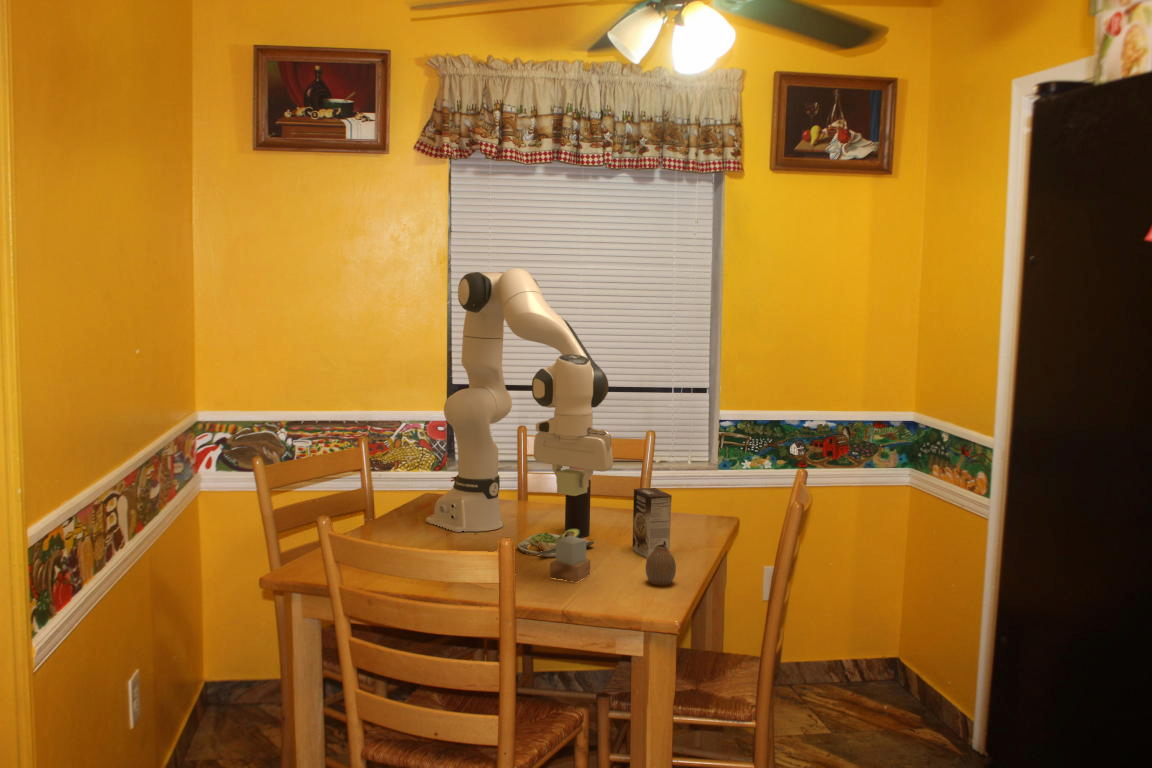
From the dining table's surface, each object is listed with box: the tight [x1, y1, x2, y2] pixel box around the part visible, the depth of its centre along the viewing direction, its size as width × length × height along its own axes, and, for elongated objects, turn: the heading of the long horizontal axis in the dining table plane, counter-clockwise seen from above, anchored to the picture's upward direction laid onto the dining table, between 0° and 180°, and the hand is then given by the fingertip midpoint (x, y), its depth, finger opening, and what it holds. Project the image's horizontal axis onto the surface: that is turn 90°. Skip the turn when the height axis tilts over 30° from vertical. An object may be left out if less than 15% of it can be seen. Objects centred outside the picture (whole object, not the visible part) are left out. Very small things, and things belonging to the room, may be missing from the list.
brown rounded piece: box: [645, 544, 677, 587], centre depth 212 cm, size 7×7×9 cm
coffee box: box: [631, 487, 673, 560], centre depth 235 cm, size 9×6×16 cm
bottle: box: [564, 467, 592, 538], centre depth 252 cm, size 7×7×20 cm
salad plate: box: [517, 529, 595, 558], centre depth 238 cm, size 19×18×5 cm
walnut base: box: [549, 558, 591, 582], centre depth 216 cm, size 7×7×4 cm
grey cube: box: [554, 536, 587, 565], centre depth 216 cm, size 5×5×5 cm
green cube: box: [556, 468, 587, 496], centre depth 214 cm, size 5×5×5 cm
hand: (572, 485), depth 214 cm, fingers closed on green cube, 5 cm apart
